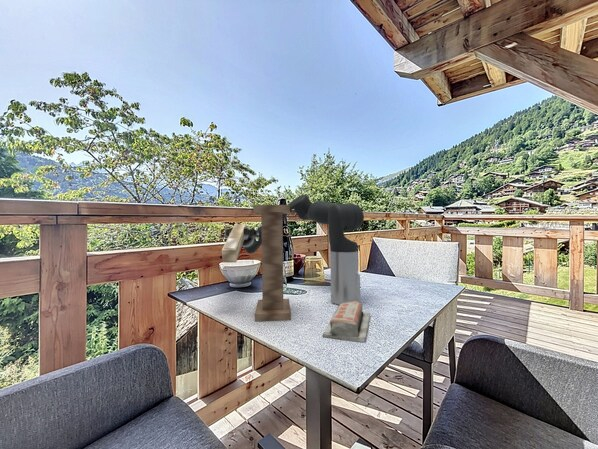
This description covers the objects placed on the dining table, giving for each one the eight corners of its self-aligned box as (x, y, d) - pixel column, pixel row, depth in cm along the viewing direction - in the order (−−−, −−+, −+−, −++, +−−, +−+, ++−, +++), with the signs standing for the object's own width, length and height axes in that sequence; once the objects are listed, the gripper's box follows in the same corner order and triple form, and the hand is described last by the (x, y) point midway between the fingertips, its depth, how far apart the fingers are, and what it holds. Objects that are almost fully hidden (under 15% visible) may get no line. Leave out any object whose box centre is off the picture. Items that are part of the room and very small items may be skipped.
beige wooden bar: (246, 233, 101) (245, 223, 100) (236, 262, 79) (235, 249, 77) (235, 233, 101) (234, 223, 100) (222, 262, 78) (221, 249, 77)
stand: (288, 304, 87) (287, 207, 87) (291, 320, 73) (289, 204, 73) (258, 305, 86) (257, 208, 86) (254, 321, 72) (253, 205, 72)
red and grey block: (365, 323, 59) (322, 318, 62) (366, 345, 59) (322, 339, 62) (370, 300, 76) (335, 297, 79) (370, 317, 76) (336, 314, 79)
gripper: (261, 245, 111) (257, 240, 95) (227, 246, 111) (217, 241, 94) (261, 228, 113) (257, 220, 96) (227, 229, 112) (218, 220, 95)
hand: (238, 230), depth 95 cm, fingers closed on beige wooden bar, 4 cm apart
